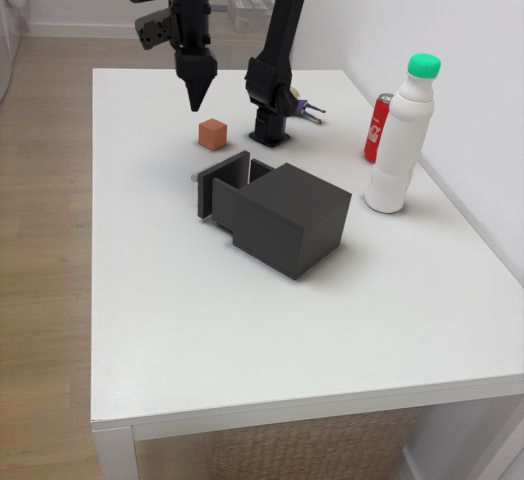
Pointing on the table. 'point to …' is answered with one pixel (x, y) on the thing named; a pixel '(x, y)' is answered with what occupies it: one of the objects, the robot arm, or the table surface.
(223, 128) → the block
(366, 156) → the beverage can
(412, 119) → the water bottle
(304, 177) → the cabinet
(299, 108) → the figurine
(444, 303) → the table surface
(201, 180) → the drawer
